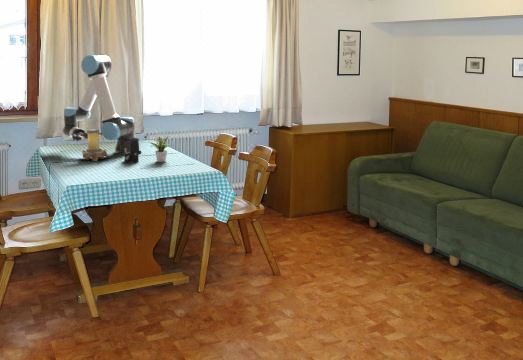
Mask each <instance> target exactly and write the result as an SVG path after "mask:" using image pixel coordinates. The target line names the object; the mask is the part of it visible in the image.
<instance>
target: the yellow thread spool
mask: <svg viewBox="0 0 523 360" xmlns="http://www.w3.org/2000/svg"><path fill="white" fill-rule="evenodd" d="M86 132H87V133H88V138H87V144H88V145H87V147H88V148H87V149H86V151H87V152H88V153H98V152H101V151H102V150H103V149H102V148H100V139H99V133H100V129H88V130H86Z"/></svg>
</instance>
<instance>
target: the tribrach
mask: <svg viewBox="0 0 523 360" xmlns="http://www.w3.org/2000/svg"><path fill="white" fill-rule="evenodd" d="M81 152H82V153H81V154H82V158H83V159H84V160H92V162H98V161H99V159H102V160H103V159H105V157H108V153H107V150H106V149H102V151H101V152H98V153H88V152H87V150H82V151H81Z"/></svg>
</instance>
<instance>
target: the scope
mask: <svg viewBox="0 0 523 360" xmlns="http://www.w3.org/2000/svg"><path fill="white" fill-rule="evenodd" d="M130 141H131V142H130V152H128V153H127V152H126V148H125V152H124V154H123V155H124V156H123V158H124V162H125V163H126V164H127V163H137V162H139V156H140V155H142V151H141V150H140V143H139V141H140V139H139V138H138V137H135V138H131V139H130Z"/></svg>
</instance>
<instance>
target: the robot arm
mask: <svg viewBox="0 0 523 360" xmlns="http://www.w3.org/2000/svg"><path fill="white" fill-rule="evenodd" d="M80 66H81V70H82V72H84V73H85V74H86V75H87V78H88V80H90V81H89V84H88V86H87V88H86V90H85V93H84V94H83V97H82V98H81V101H80V103H79V105H78V107H77V108H75V107H65V108H64V109H63V117H64V119H63V120H64V121H63V122H64V126H63V128H62V134H63V136H64V137H66V138H69V139H72V140H73V141H76V142H79V141H81V142H85V141H86V140H85V139H88V133H87V131H85V129H83V128H81V127H80V128H79V127H78V124H77V123H78V122H81V121H86V120H88V119H89V118H90V117H91V115H92V114H91V109H92V107H93V105H94V103H95V101H96V99H97V102H98V105H99V109H100V113H101V115H102V119H101V123H102V125H101V127H100V132H99V140H105V139H107V140H108V141H116V142H115V146H114V154H116V155H117V154H118V155H124V152H125V148H126V152H127V153H128V152H130V142H131V141H130V139H131V138H136V129H135V128H136V127H135V118H133V117H128V116H127V117H126V116H125V117H123V116H122V117H121V116H120V115H119V114H117V111H116V109H115V108H116V107H115V105H114V101H113V98H112V95H111V91H110V88H109V84H108V81H107V79H108V77H109V76H110V72H111V71H112V67H113V66H112V61H111V58H110V57H109V56H107V54H103V53H99V54H96V53H94V54H93V53H91V54H88V55H85V56H84V57H83V58H82V61H81V65H80Z"/></svg>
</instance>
